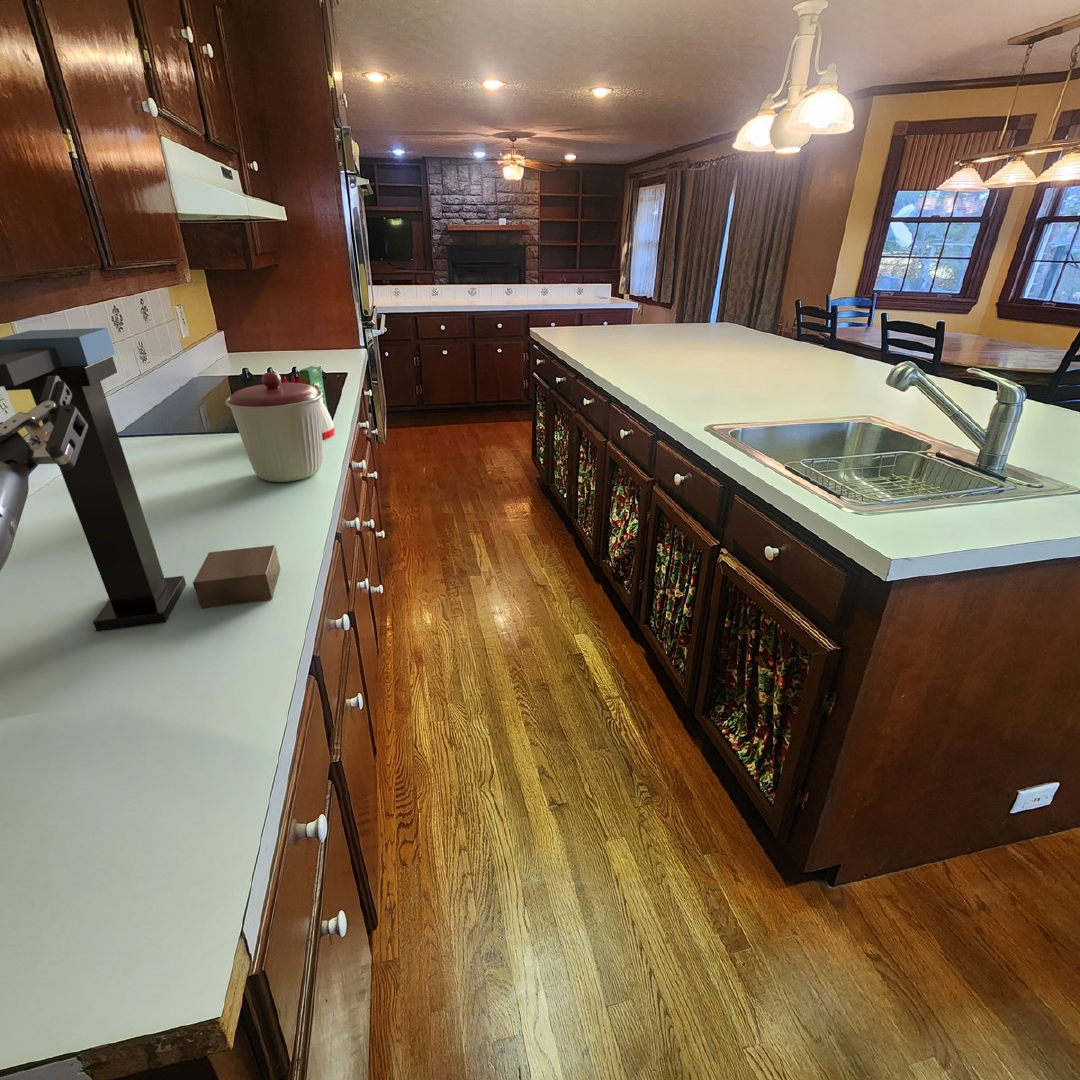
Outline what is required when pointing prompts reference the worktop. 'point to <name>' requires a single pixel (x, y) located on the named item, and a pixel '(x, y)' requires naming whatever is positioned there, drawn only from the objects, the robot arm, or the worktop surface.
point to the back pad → (50, 352)
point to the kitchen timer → (325, 416)
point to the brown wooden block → (237, 576)
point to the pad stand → (111, 507)
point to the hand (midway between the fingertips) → (7, 385)
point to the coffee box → (314, 379)
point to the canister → (280, 428)
